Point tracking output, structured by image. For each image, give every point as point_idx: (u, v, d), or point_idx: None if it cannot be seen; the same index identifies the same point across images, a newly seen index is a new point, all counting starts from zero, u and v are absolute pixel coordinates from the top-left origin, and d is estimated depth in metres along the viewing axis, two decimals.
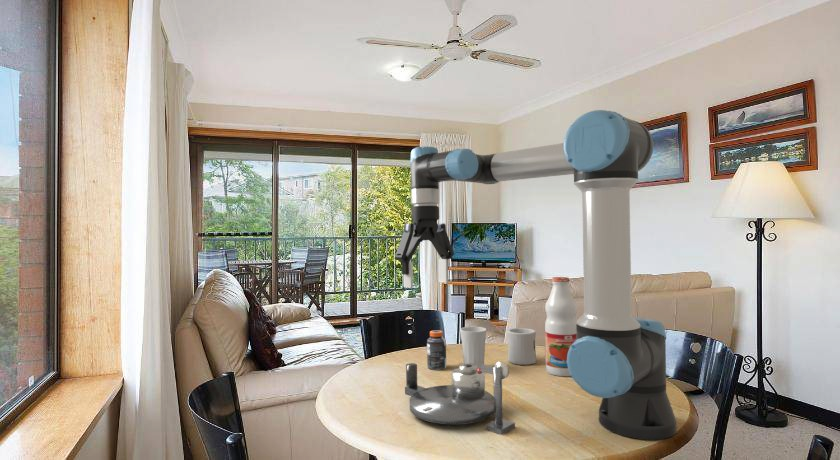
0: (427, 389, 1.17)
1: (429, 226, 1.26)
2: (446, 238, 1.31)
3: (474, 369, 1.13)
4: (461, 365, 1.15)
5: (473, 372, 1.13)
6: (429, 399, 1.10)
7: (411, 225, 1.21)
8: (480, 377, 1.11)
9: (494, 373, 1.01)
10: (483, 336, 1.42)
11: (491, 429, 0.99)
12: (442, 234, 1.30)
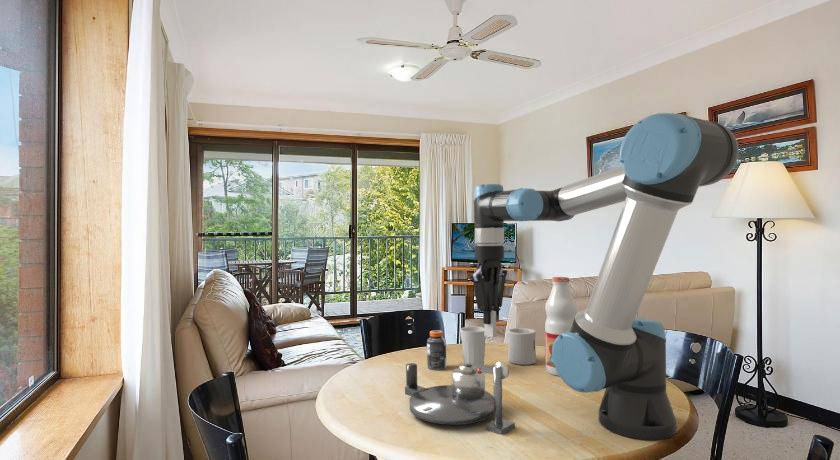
0: (427, 389, 1.17)
1: None
2: (502, 285, 1.23)
3: (474, 369, 1.13)
4: (461, 365, 1.15)
5: (473, 372, 1.13)
6: (429, 399, 1.10)
7: (479, 276, 1.16)
8: (480, 377, 1.11)
9: (494, 373, 1.01)
10: (483, 336, 1.42)
11: (491, 429, 0.99)
12: (500, 279, 1.24)
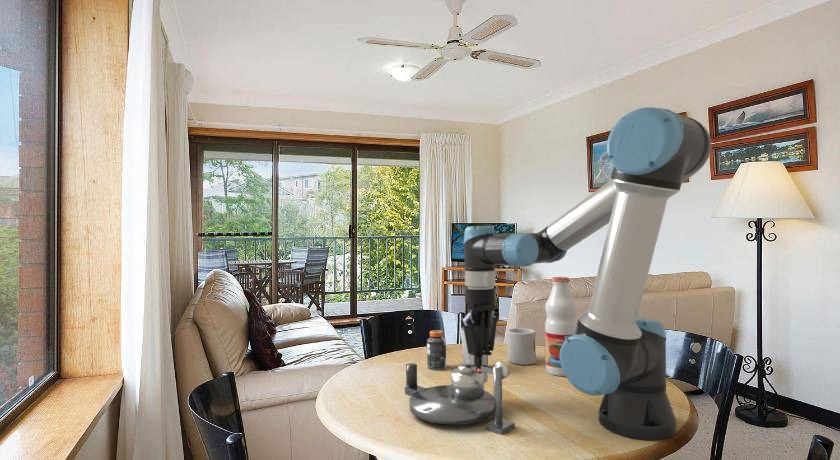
0: (427, 389, 1.17)
1: None
2: (494, 328, 1.20)
3: (474, 369, 1.13)
4: (460, 365, 1.15)
5: (472, 372, 1.12)
6: (429, 399, 1.10)
7: (469, 321, 1.13)
8: (479, 377, 1.11)
9: (494, 373, 1.01)
10: None
11: (491, 429, 0.99)
12: (492, 322, 1.21)
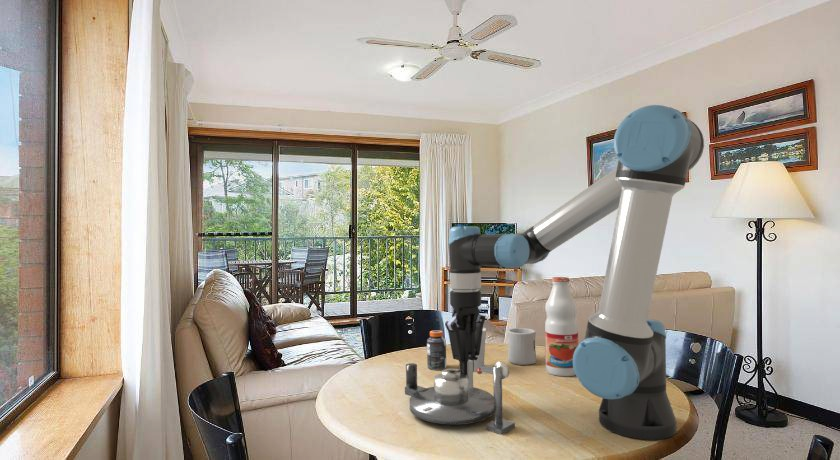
0: (427, 389, 1.17)
1: None
2: (480, 332, 1.16)
3: (457, 375, 1.09)
4: (444, 370, 1.11)
5: (456, 378, 1.08)
6: (429, 399, 1.10)
7: (453, 325, 1.09)
8: (463, 383, 1.07)
9: (494, 373, 1.01)
10: (483, 336, 1.42)
11: (491, 429, 0.99)
12: (478, 325, 1.17)
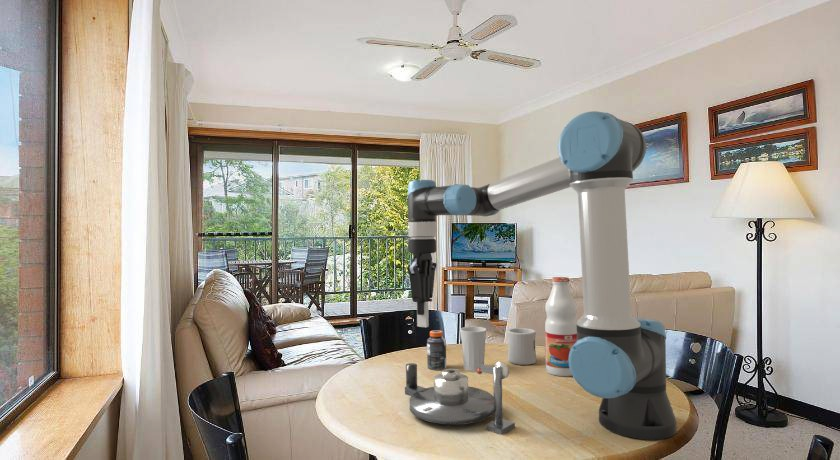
0: (427, 389, 1.17)
1: (427, 252, 1.26)
2: (433, 277, 1.29)
3: (457, 375, 1.09)
4: (444, 371, 1.11)
5: (456, 378, 1.08)
6: (429, 399, 1.10)
7: (416, 268, 1.20)
8: (463, 383, 1.07)
9: (494, 373, 1.01)
10: (483, 336, 1.42)
11: (491, 429, 0.99)
12: (431, 271, 1.29)
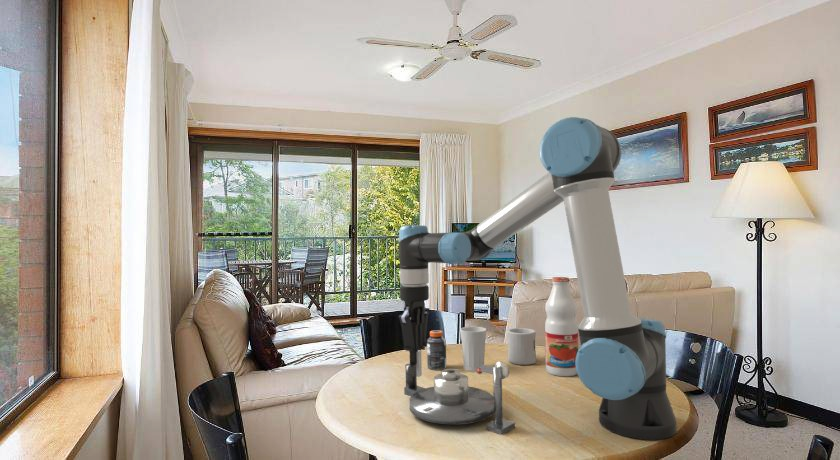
0: (426, 389, 1.17)
1: None
2: (426, 323, 1.26)
3: (457, 375, 1.09)
4: (444, 371, 1.11)
5: (456, 378, 1.08)
6: (429, 399, 1.10)
7: (407, 318, 1.17)
8: (463, 383, 1.07)
9: (494, 373, 1.01)
10: (483, 336, 1.42)
11: (491, 429, 0.99)
12: (423, 318, 1.26)
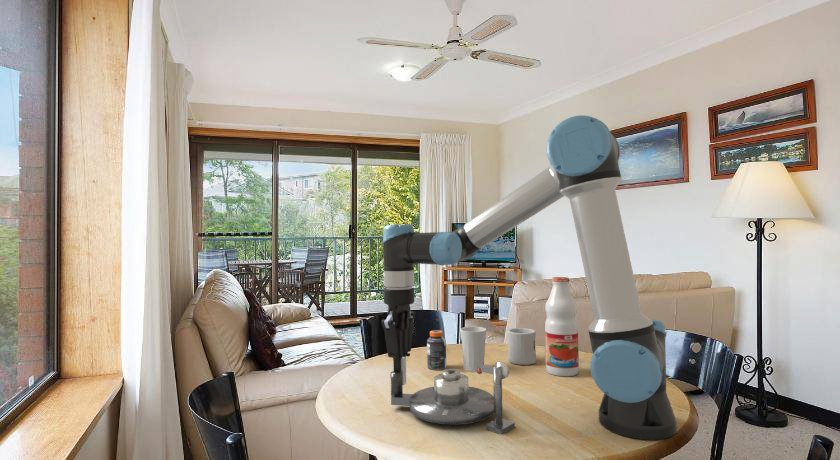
0: (416, 395, 1.13)
1: None
2: (411, 328, 1.18)
3: (460, 373, 1.09)
4: (444, 372, 1.10)
5: (459, 377, 1.09)
6: (432, 403, 1.07)
7: (391, 323, 1.10)
8: (467, 381, 1.09)
9: (494, 373, 1.01)
10: (483, 336, 1.42)
11: (491, 429, 0.99)
12: (409, 322, 1.19)
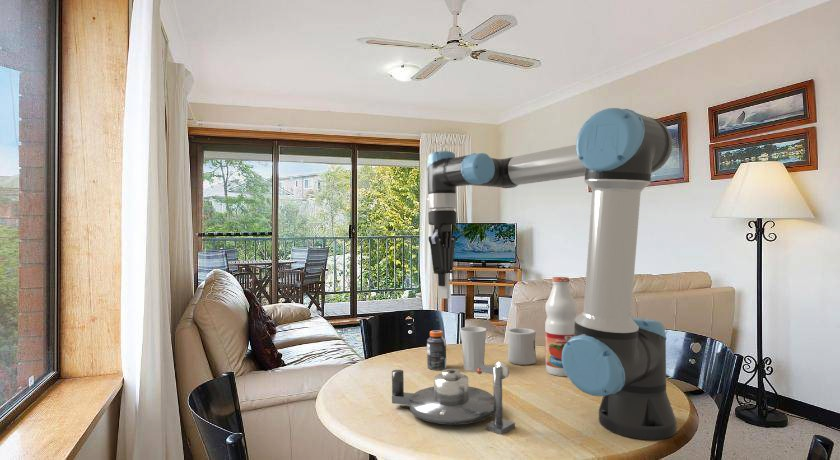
0: (417, 394, 1.14)
1: (447, 224, 1.27)
2: (453, 249, 1.30)
3: (460, 374, 1.09)
4: (444, 372, 1.10)
5: (459, 377, 1.09)
6: (432, 403, 1.08)
7: (437, 239, 1.21)
8: (467, 381, 1.09)
9: (494, 373, 1.01)
10: (483, 336, 1.42)
11: (491, 429, 0.99)
12: (450, 244, 1.30)
